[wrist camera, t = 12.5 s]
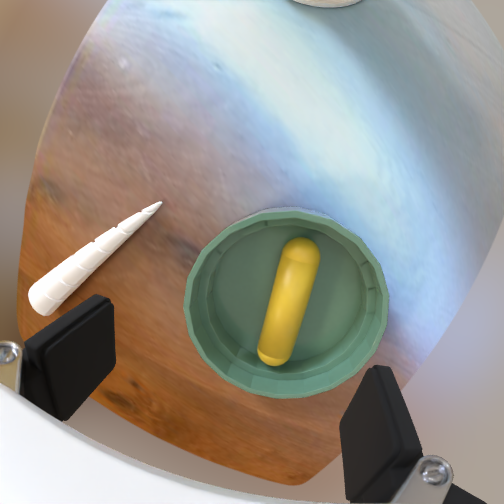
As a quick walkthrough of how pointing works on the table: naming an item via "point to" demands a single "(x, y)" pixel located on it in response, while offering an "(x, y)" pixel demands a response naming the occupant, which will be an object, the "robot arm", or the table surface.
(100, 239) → the unicorn horn
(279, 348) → the yellow rounded capsule
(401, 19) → the table surface
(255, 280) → the green round dish
